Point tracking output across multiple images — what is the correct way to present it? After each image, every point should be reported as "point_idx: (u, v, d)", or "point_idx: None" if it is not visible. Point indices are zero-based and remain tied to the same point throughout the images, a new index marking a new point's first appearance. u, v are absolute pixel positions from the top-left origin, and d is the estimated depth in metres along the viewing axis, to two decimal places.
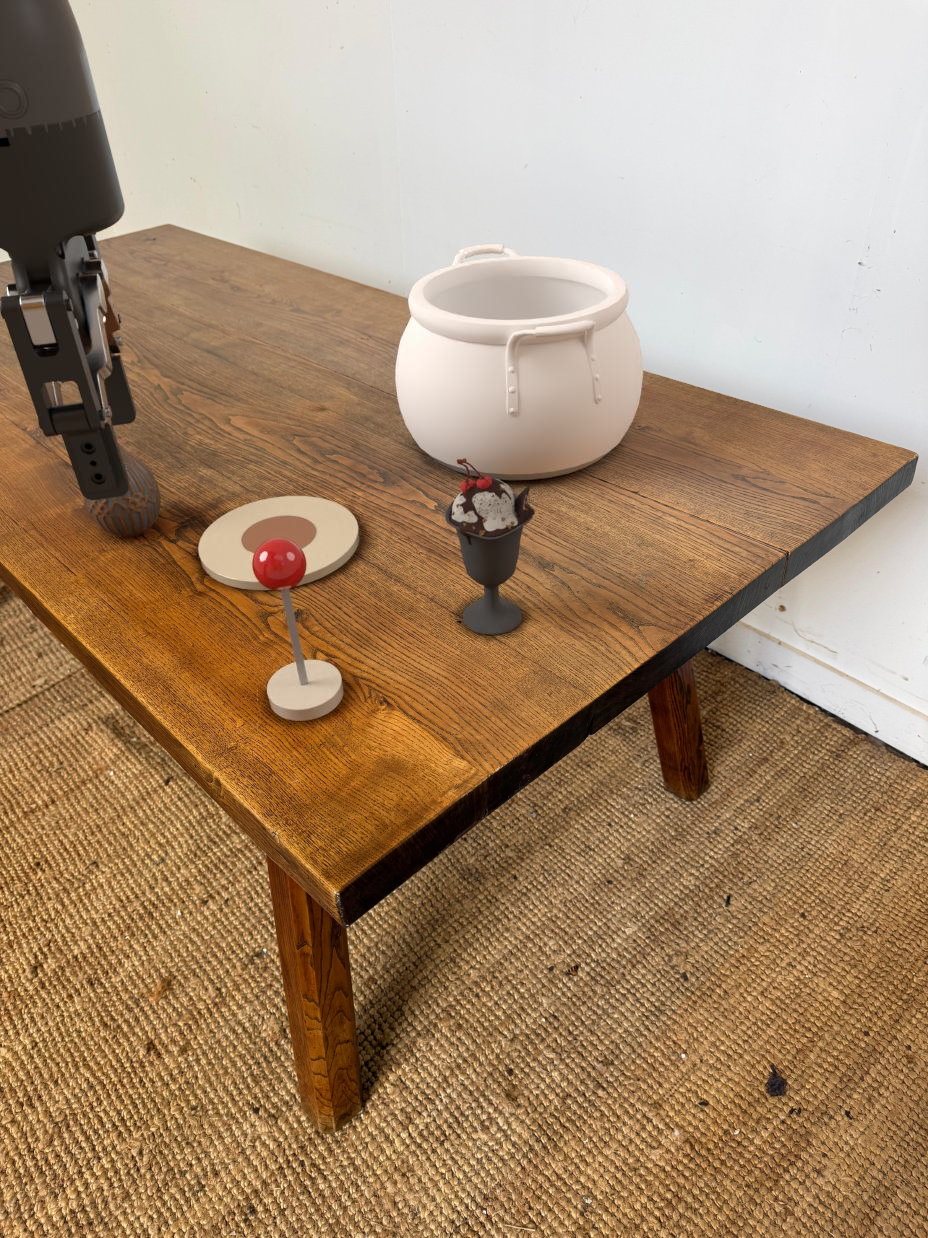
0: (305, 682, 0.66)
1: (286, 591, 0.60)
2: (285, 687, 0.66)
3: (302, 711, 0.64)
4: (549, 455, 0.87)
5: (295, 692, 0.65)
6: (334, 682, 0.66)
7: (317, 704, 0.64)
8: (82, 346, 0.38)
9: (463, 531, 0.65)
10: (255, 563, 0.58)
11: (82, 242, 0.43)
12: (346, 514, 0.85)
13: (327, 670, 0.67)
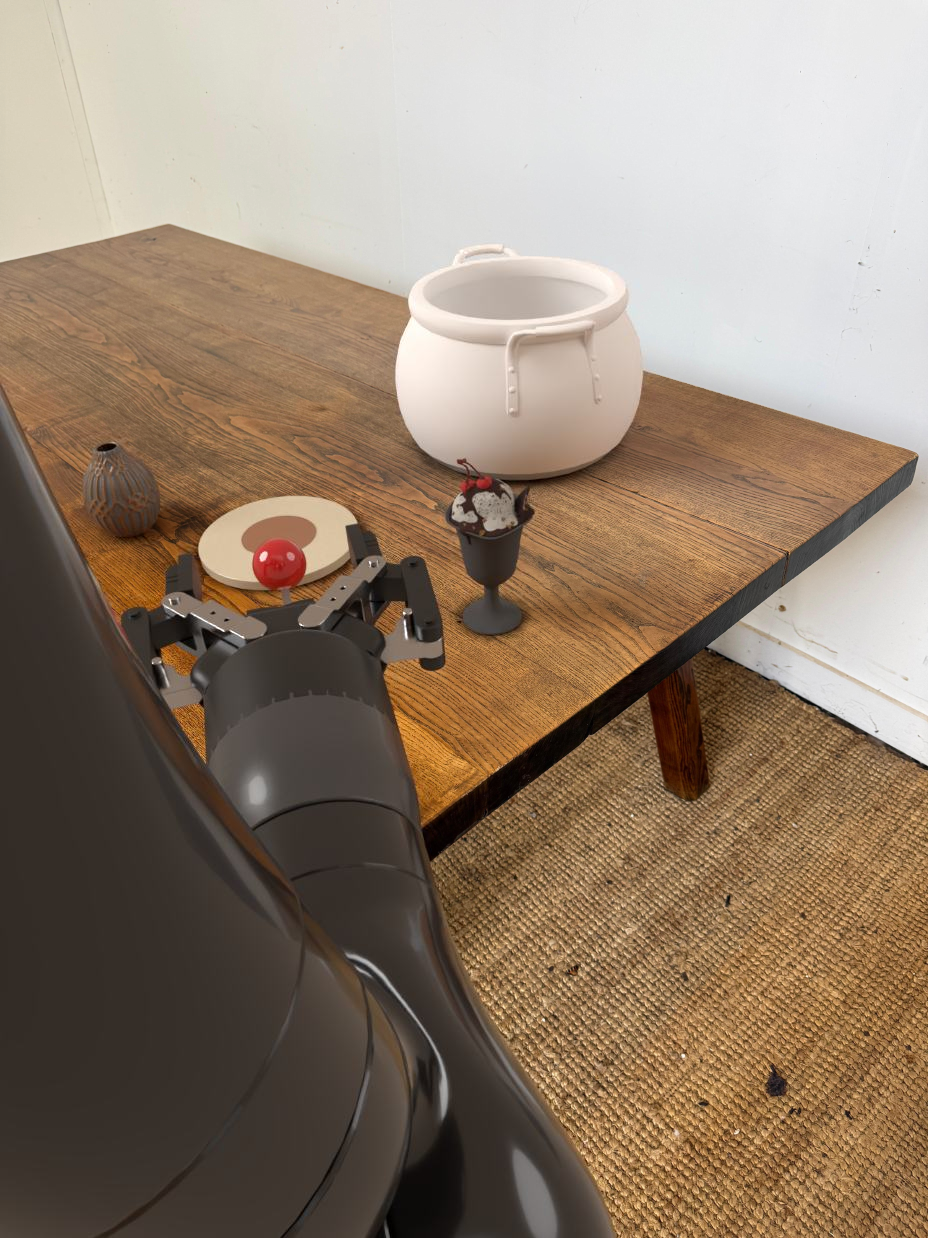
0: None
1: (286, 591, 0.60)
2: None
3: None
4: (549, 455, 0.87)
5: None
6: None
7: None
8: None
9: (463, 531, 0.65)
10: (255, 563, 0.58)
11: None
12: (346, 514, 0.85)
13: None
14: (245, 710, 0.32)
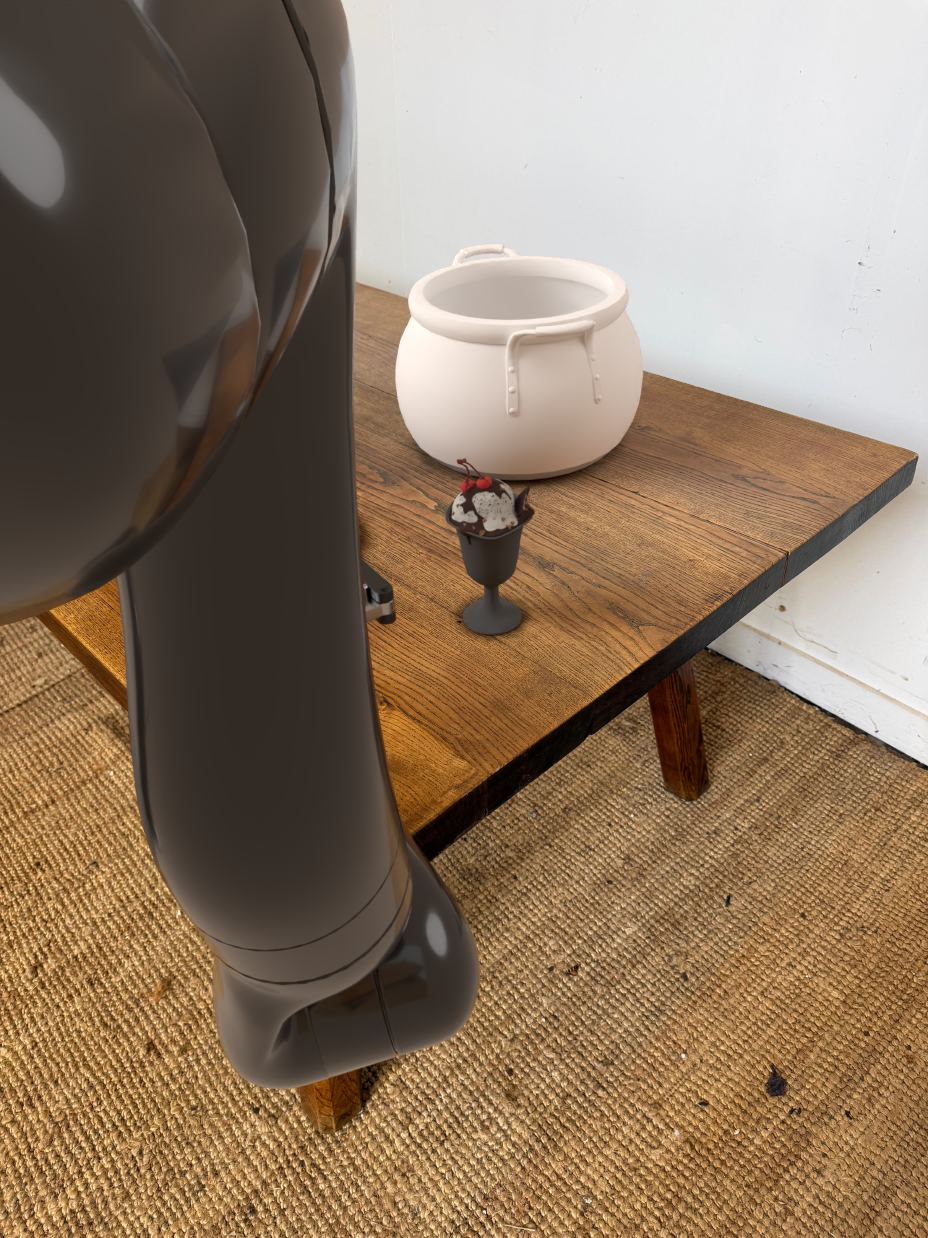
0: None
1: None
2: None
3: None
4: (549, 455, 0.87)
5: None
6: None
7: None
8: None
9: (463, 531, 0.65)
10: None
11: None
12: None
13: None
14: None
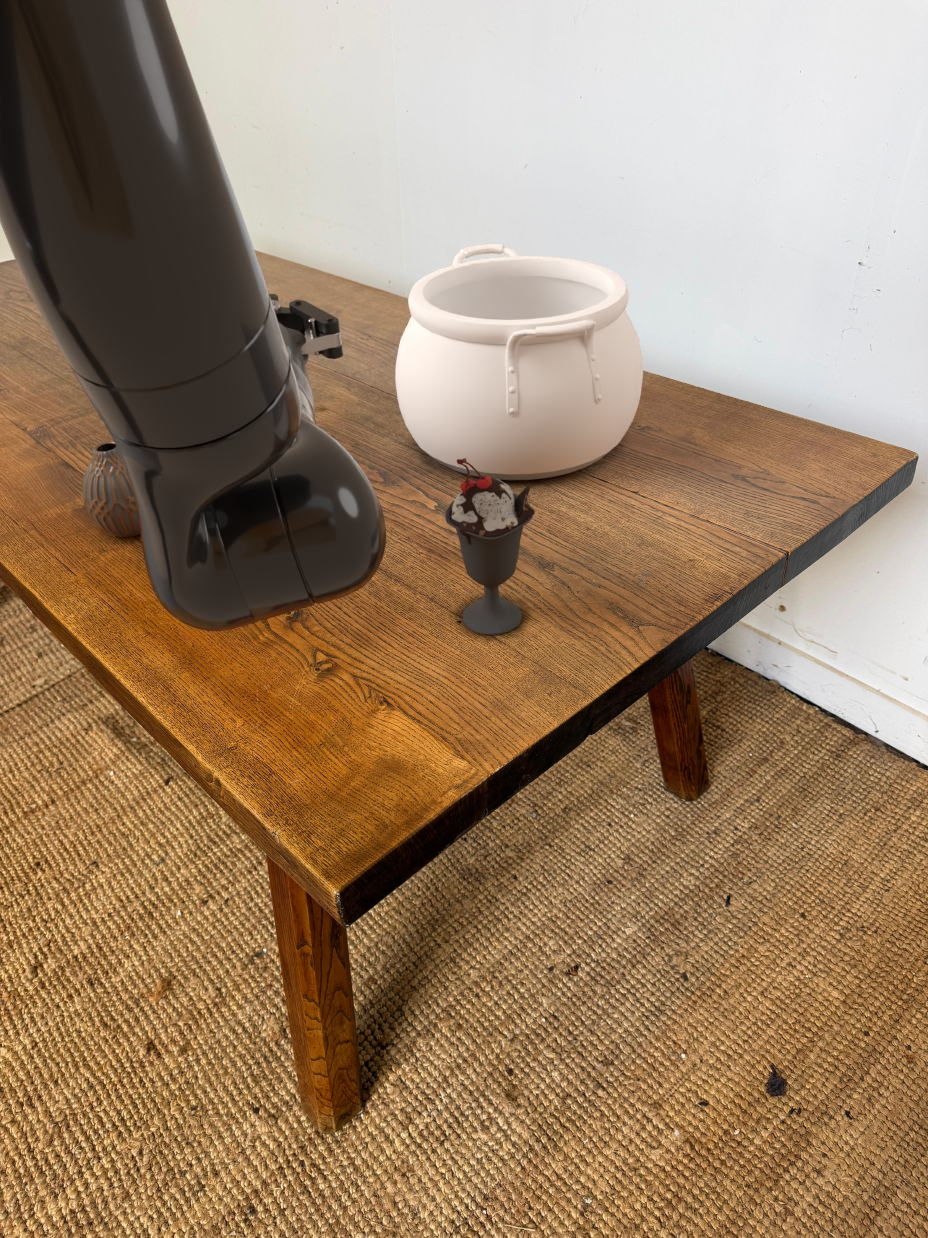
0: None
1: None
2: None
3: None
4: (549, 455, 0.87)
5: None
6: None
7: None
8: None
9: (463, 531, 0.65)
10: None
11: None
12: None
13: None
14: None
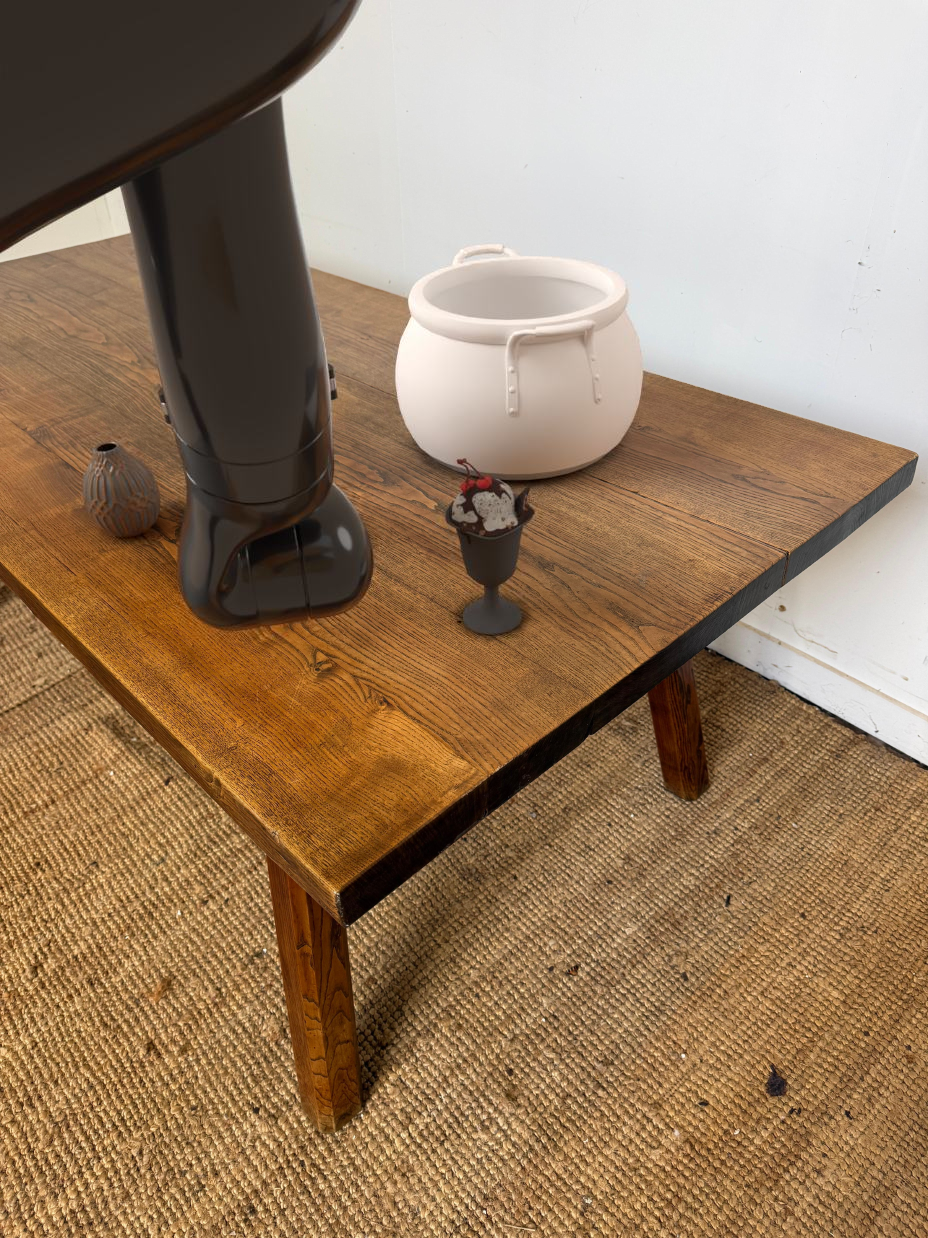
0: None
1: None
2: None
3: None
4: (549, 454, 0.87)
5: None
6: None
7: None
8: None
9: (463, 531, 0.65)
10: None
11: None
12: None
13: None
14: None
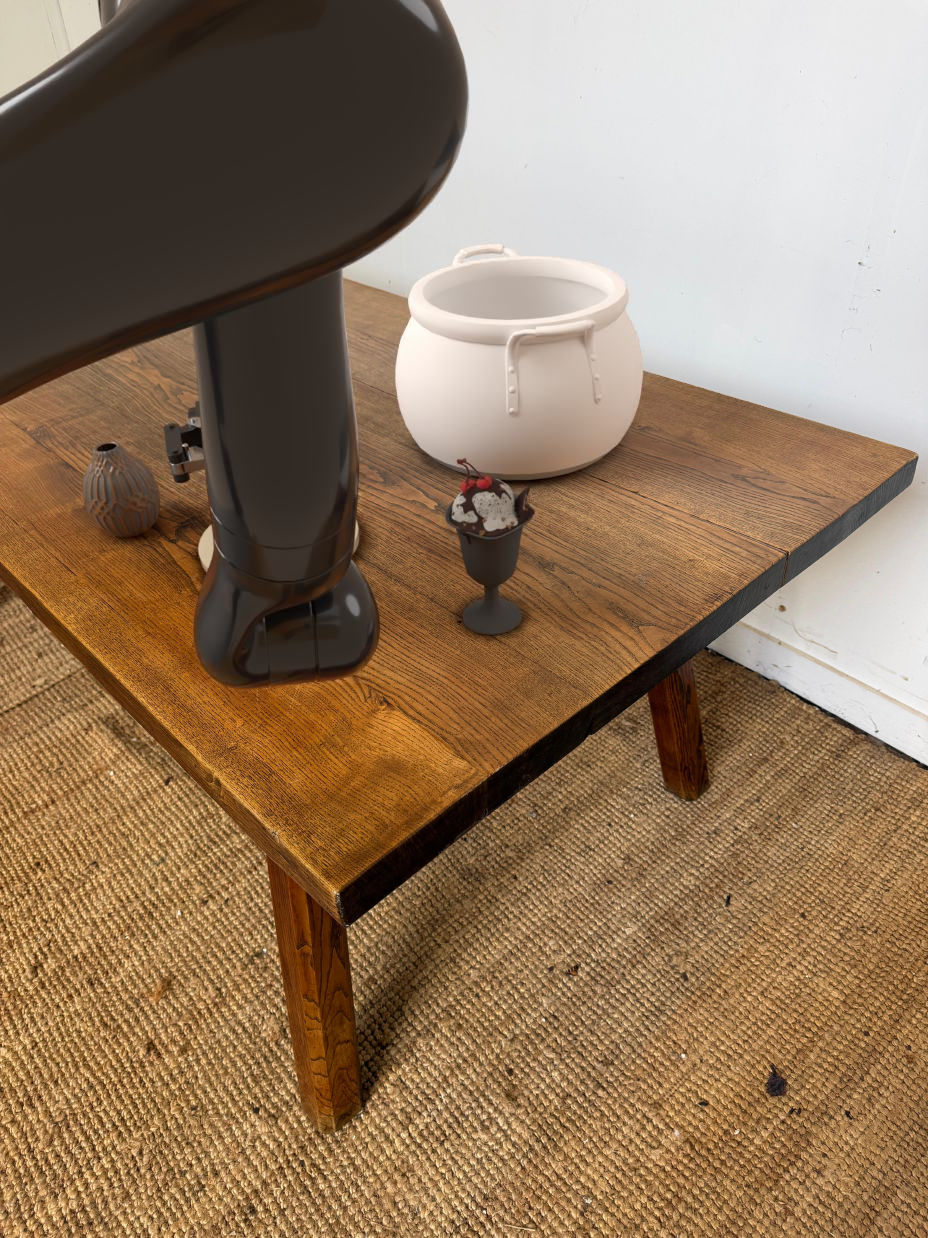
0: None
1: None
2: None
3: None
4: (549, 454, 0.87)
5: None
6: None
7: None
8: None
9: (463, 531, 0.65)
10: None
11: None
12: None
13: None
14: None
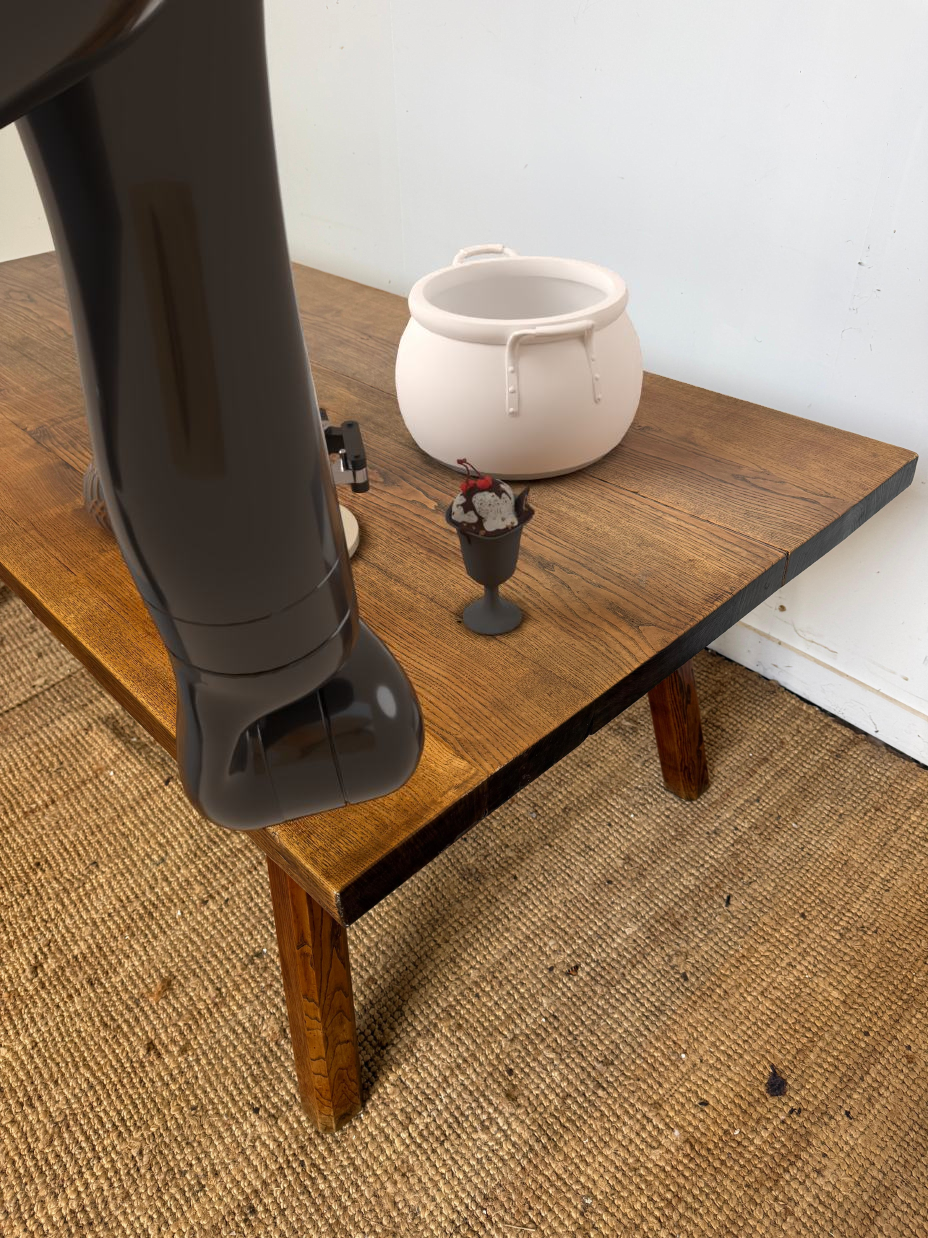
0: None
1: None
2: None
3: None
4: (549, 454, 0.87)
5: None
6: None
7: None
8: None
9: (463, 531, 0.65)
10: None
11: None
12: (346, 514, 0.85)
13: None
14: None
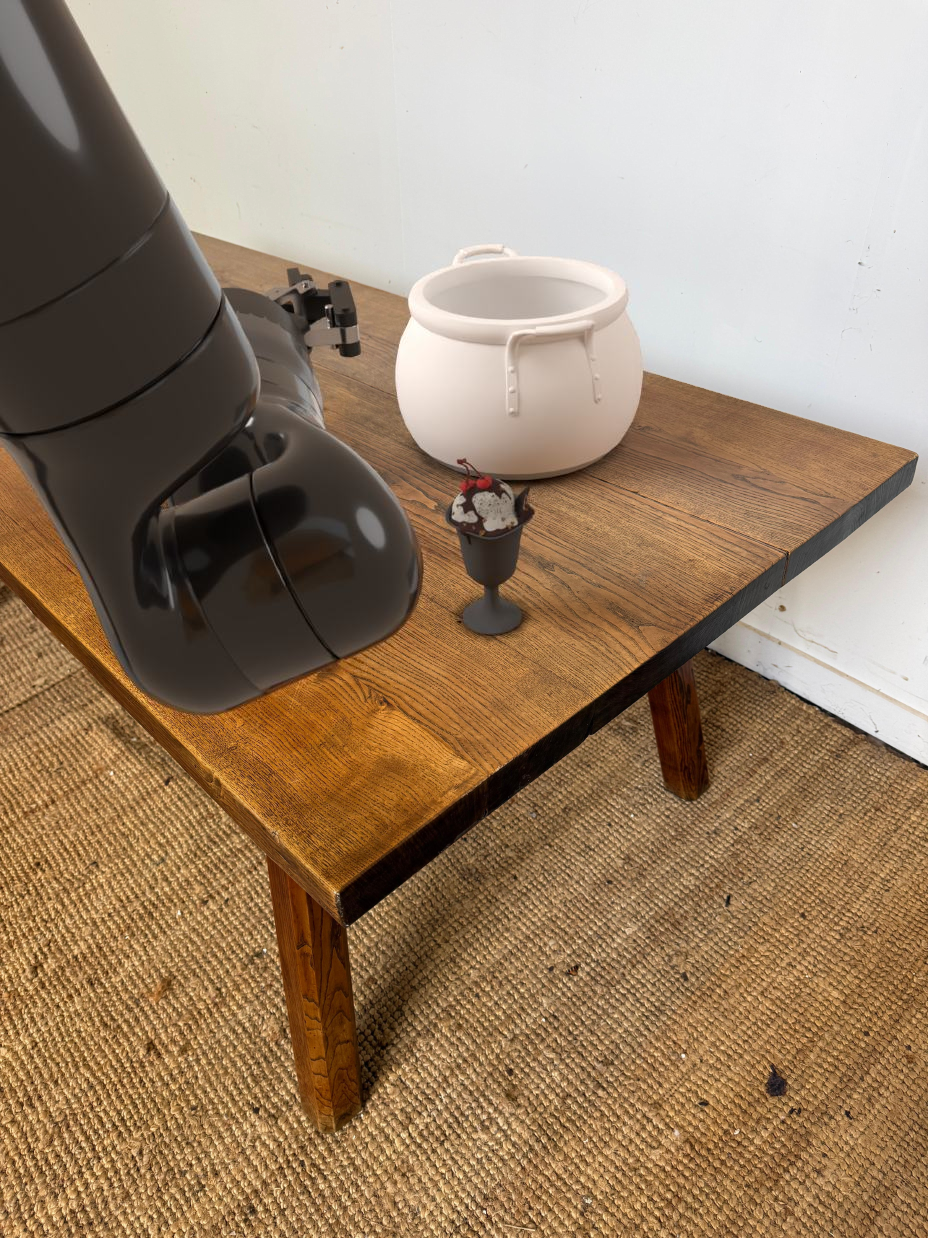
0: None
1: None
2: None
3: None
4: (549, 454, 0.87)
5: None
6: None
7: None
8: None
9: (463, 531, 0.65)
10: None
11: None
12: None
13: None
14: None
